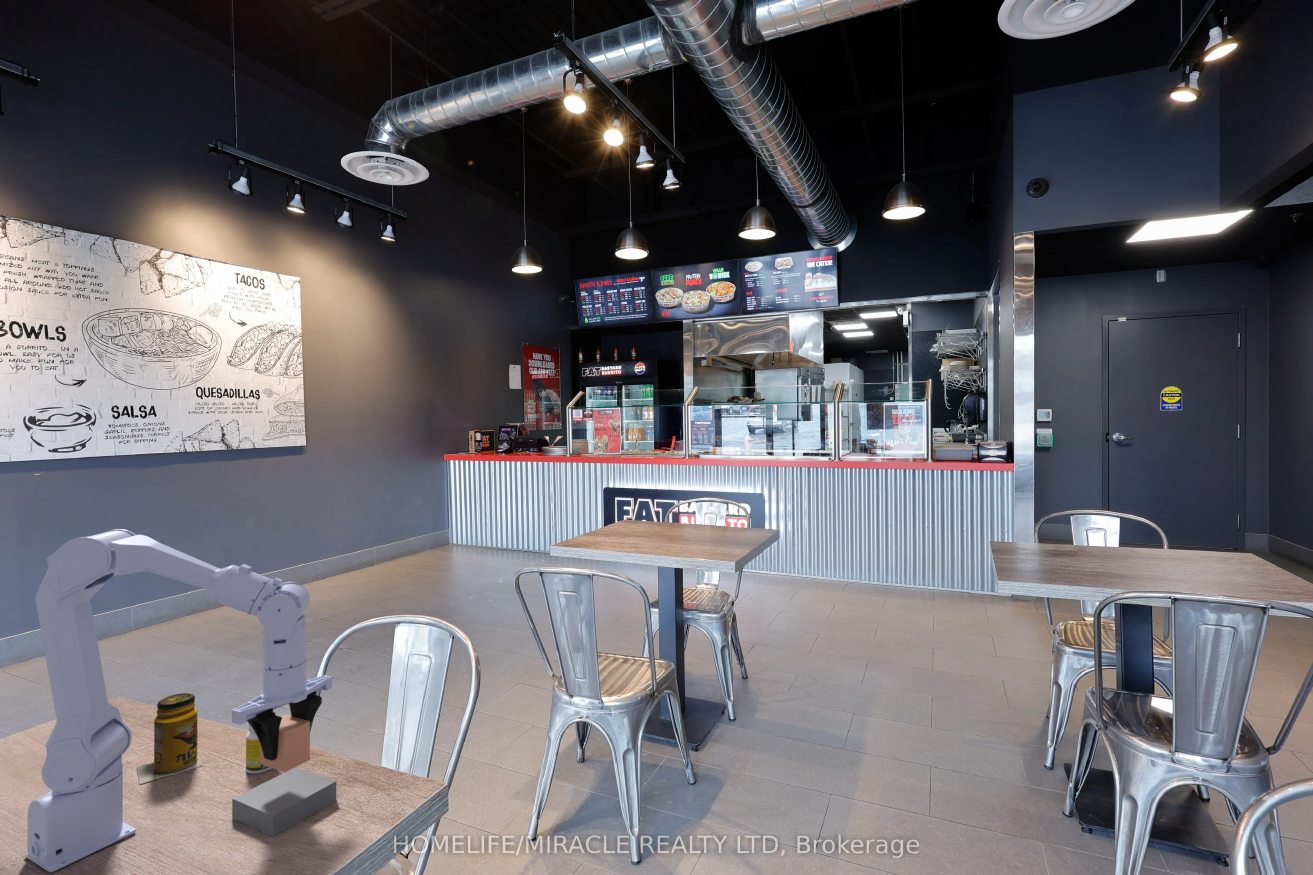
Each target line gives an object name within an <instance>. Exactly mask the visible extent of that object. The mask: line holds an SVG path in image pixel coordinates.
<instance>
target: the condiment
mask: <svg viewBox="0 0 1313 875" xmlns="http://www.w3.org/2000/svg"><path fill="white" fill-rule="evenodd" d="M195 702H196V696H195V694H193V693H191V692H190V693H189V692H186V693H185V692H181V693H176V694H172V695H169V696H166V697H163V698H162V699H160V700H159V701H157V704H156V707H157V708H156V709H157V710H156V716H155V718H154V722H153V735H154V736H153V737H154V738H153V740H154V741H153V743H154V744H153V753H154V754H153V762H149V763H145V764H142V765H138V766H136V772H137V777H138V782H139V785H142V784H145V783H148V782H152V781H154V780H159V779H162V778H165V777H168V776H169V777H170V776H172V775H173V776H174V775H178V774H179V773H184V772H186V771H190V770H192V769H196V768H199V767H201V766H203V763H202V761H201V759H200V755H199V753H198V745H199V743H198V709H197V708H196V707H195V706H196V703H195Z"/></svg>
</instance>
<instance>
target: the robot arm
mask: <svg viewBox="0 0 1313 875" xmlns="http://www.w3.org/2000/svg"><path fill="white" fill-rule="evenodd" d="M46 562H47V566H48V568H47V570H46V572H45V575H44V577H43V578H42V581H41V582H40V586H39V588H38V590H37V592H36V595H35V605H36V609H37V610H36V611H37V616H38V621H39V627H40V632H41V639H42V644H43V650H44V655H45V656H44V657H45V661H46V667H47V673H48V679H49V682H50V683H49V684H50V689H51V695H52V701H53V706H54V710H55V716H56V718H55V719H56V722H55V725H54V727H53V728H52V731H51V732H50V734H49V737H48V738H47V740H46V743H45V750H46V758H45V761H44V762H43V766H42V768H41V778H42V781H43V783H44V784H45V786H46V787H47V788H48V789H50V790H49V791H48V792H47V793H45V794H43V795H41V796H40V797H37V798H35V799H33V800H32V801H31V802H30V803H29V806H28V809H27V852H25V858H27V859H29V860H30V861H32V862H33V863H34V864H36V865H38V866H39V867H40V868H42V869H43V870H45V871H47V873H54V872H56V871H58V870H60V869H61V868H64V867H66V866H69V865H71V864H72V863H75V862H77V861H79V860H81V859H83V858H85V857H87V856H90V855H91V854H94V853H95V852H99V851H100V850H102V849H104V848H106V847H108V846H110V845H113V844H114V843H116V842H118V841H120V840H122V839H125V838H127V837H129V836H131V835H133V834H136V832H137V828H136V827H134V826H132V825H130V824H128V823H127V822H124V820H123V817H124V816H123V815H124V810H123V809H124V808H123V807H124V804H123V802H124V801H123V800H124V796H123V795H124V794H123V792H124V791H123V790H124V789H123V788H124V787H123V785H124V781H123V780H124V776H123V775H124V771H123V769H124V768H123V766H124V765H123V760H122V759H123V754H125V753H126V751H128V749H129V748H130V746H131V743H132V739H133V735H132V731H131V728H130V726H129V725H128V724H126V722H124V720H123V718H122V716H121V711H120V709H119V707H116V706H115V705H113V704H111V703H109V699H108V695H107V689H106V683H105V682H106V681H105V678H104V672H103V666H102V661H101V654H100V650H99V649H100V648H99V643H98V637H97V631H96V626H95V620H94V614H93V610H92V603H91V599H92V597H94V595H96V593H97V592H99V591H100V590H101V589H102V587H103V586H105V584H107V583H108V582H109V581H110V580H111V579H113V578H114V577H116V576H123V575H129V574H137V573H143V572H149V573H153V574H156V575H159V576H163V577H166V578H169V579H172V580H174V581H179V582H181V583H185V584H188V585H190V586H194V587H198V588H202V589H203V590H206V593H207V595H208V597H209V599H210V601H211V602H214V603H217V604H220V605H221V606H222V605H223V606H225V607H228V608H231V609H234V610H236V611H238V612H239V611H240V612H242V613H244V614H247V615H251V616H253V617H255V616H256V617H257V619H258V621H259V623H260V624H261V625H262V626H263V637H262V638H263V639H262V642H263V644H262V648H263V650H262V652H263V653H262V654H263V656H262V658H263V659H262V660H263V661H262V662H263V663H262V666H263V668H262V670H263V672H262V676H263V677H262V678H263V680H262V684H263V685H262V690H263V691H262V694H260V695H258V696H256V697H254V698H252V699H251V700H249V701H247V702H245V703H243V704H242V705H240V706H237V707H235V708H232V709H231V723H233V724H235V725H238V726H240V725H243V724H246V723H247V722H248V725H249V724H250V725H251V727H252V728H253V730H254V731H255V733H256V735H257V737H258V739H259V742H260V745H261V747H262V751H263V755H264V758H265V759H268V760H271V761H273V760H275V759H276V758H277V752H278V733H279V727H280V723H281V720H282V717H280V716H281V715H276V712H274V710H277V709H279V708H282V707H284V706H286V705H288V706H289V709H290V716H293V717H297V718H300V719H303V720H307V721H310V727H311V726H312V724H313V720H314V718H315V716H316V714H317V712H318V710H319V708H320V707H321V705H322V703H323V697H322V696H320V695H318V694H317V693H319V692H322V691H329V690H332V688H333V676H329V675H325V674H324V675H321V676H317V677H314V678H310V679H309V678H308V679H307V630H306V614H304V613H305V612H306V611H307V609H308V608H309V605H310V602H311V600H310V597H311V596H310V594H309V591H308V590H307V589H306V588H305V587H304V586H303V585H301V584H299V583H298V582H297V581H286V582H283V579H281V578H279V577H275V578H274V579H272V578H270V577H267V576H264V575H261V574H259V573H257V572H254V571H252V566H251V565H248V564H245V563H243V564H241V565H240V566H238V565H235V564H232V565H229V566H226V567H223V568H219V567H218V566H214V565H212V564H211V563H208V562H205V561H203V560H200V559H198V558H196V557H194V556H191V555H189V554H187V553H184V552H182V551H180V550H178V549H175V548H173V547H172V546H168V545H166V544H164V543H161V542H159V541H157V540H156V539H153V538H151V537H149V536H147V535H143V534H136V533H135V532H133V531H130V530H128V529H124V528H122V529H121V528H115V529H110V530H107V531H105V532H102V533H98V534H94V535H89V536H79V537H76V538H74V539H70V540H69V541H67V542H65V543H64V544H62V545H61V546H60V547H59V548H58V549H57V550H55V551H54V552H53V553H52V554H50V555H49V556H48V557H47V559H46Z"/></svg>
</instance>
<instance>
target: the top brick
mask: <svg viewBox="0 0 1313 875" xmlns="http://www.w3.org/2000/svg"><path fill="white" fill-rule="evenodd" d="M279 716H280V717H282V720H281V723H280V727H279V733H278V752H277V758H276V759H275V760H273V761H271V760H268V759H265V758H264V755H263V751H262V747H261V745H260V764H263V765H265V766H268V767H271V768H272V769H274V770H276V771H280V772H282V773H285V772H287V771H289V770H291V769H293V768H295V767H299V766H300V765H303V764H305V763H307V762H308V761H310V760H311V726H310V721H307V720H303V719H300V718H297V717H293V716H291V714H290V715H289V714H286V713H285V714H283V715H279Z"/></svg>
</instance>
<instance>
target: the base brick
mask: <svg viewBox="0 0 1313 875" xmlns="http://www.w3.org/2000/svg"><path fill="white" fill-rule="evenodd" d="M231 800H232V802H231V804H232V805H231V812H232V813H231V818H232V819H233V820H234V821H237V822H238V823H242V824H244V825H245V826H248V827H250V828H253V829H254V830H257V831H259V832H261V833H263V834H266V835H268V836H270V837H275V836H277V835H278V834H280V833H282V832H284V831H286V830H287V829H289V828H291V827H292V826H294V825H296V824H297V823H300V822H301V821H302V820H305V819H306V818H307V817H309V816H311V815H313V814H315V813H317V812H319V811H320V810H321V809H324V808H325V807H327V806H329V805H331V804H332V803H333V802H335V801H337V780H335V779H332V778H330V777H329V778H328V777H326V776H323V775H320V774H318V773H315V772H312V771H309V770H306V769H303V768H300V767H299V766H297V767H295V768H293V769H291V770H289V771H287V772H285V773H284V772H282V773H281V774H279V775H277V776H275V777H273V778H271V779H269V780H267V781H265V782H263V783H261V784H259V785H257V786H255V787H253V788H251V789H250V790H247V791H245V792H243V793H241V794H239V795H237V796H234V797H233V798H231Z"/></svg>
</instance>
